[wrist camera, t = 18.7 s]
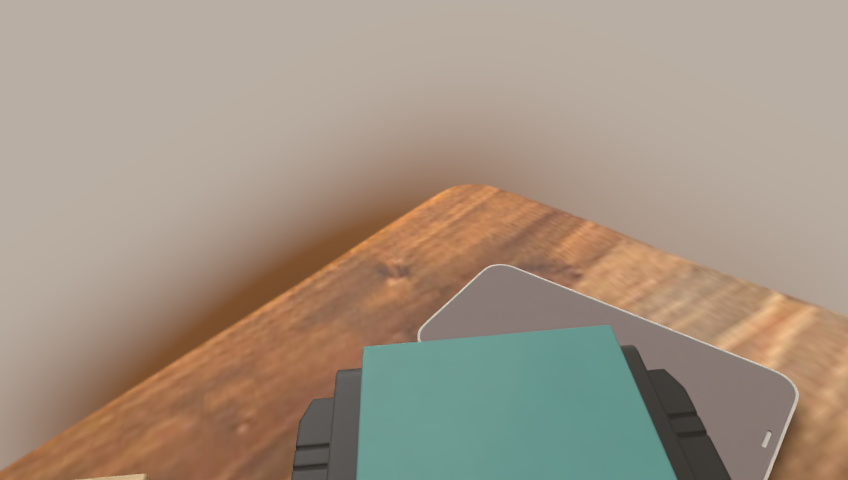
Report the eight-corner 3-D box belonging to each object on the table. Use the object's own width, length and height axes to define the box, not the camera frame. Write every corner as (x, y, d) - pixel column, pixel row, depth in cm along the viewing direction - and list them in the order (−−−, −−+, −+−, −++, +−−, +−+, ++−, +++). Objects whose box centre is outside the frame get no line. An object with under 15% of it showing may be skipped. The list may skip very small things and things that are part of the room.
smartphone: (495, 258, 33) (806, 381, 24) (495, 271, 33) (799, 396, 25) (406, 339, 28) (750, 523, 20) (408, 353, 29) (744, 538, 20)
